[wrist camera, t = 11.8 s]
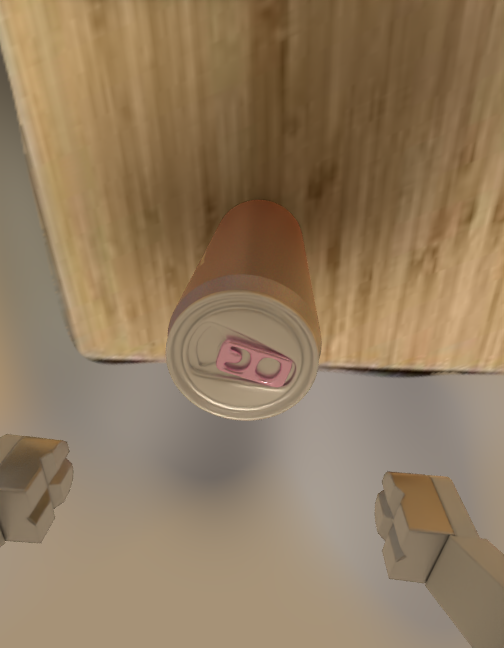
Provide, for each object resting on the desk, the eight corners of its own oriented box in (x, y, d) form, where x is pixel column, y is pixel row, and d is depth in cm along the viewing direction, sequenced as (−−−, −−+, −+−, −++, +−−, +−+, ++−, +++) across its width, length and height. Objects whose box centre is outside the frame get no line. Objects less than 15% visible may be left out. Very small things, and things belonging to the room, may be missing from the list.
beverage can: (284, 292, 29) (288, 442, 16) (207, 266, 28) (145, 400, 15) (316, 215, 26) (353, 320, 13) (231, 184, 26) (181, 262, 13)
